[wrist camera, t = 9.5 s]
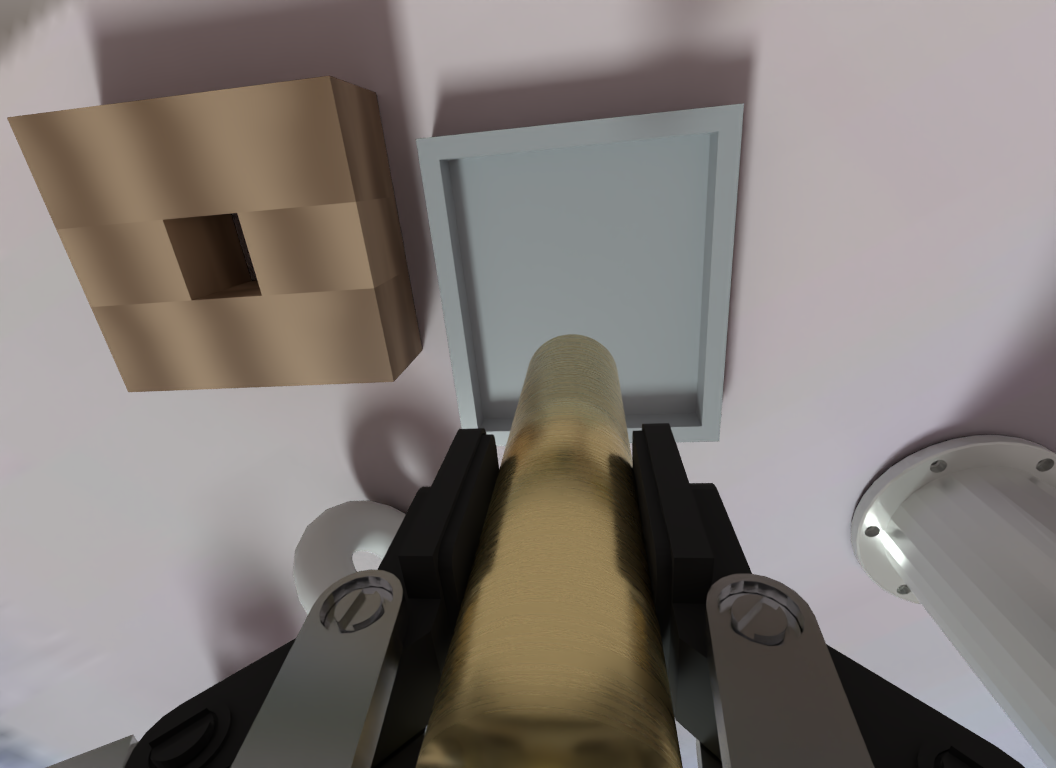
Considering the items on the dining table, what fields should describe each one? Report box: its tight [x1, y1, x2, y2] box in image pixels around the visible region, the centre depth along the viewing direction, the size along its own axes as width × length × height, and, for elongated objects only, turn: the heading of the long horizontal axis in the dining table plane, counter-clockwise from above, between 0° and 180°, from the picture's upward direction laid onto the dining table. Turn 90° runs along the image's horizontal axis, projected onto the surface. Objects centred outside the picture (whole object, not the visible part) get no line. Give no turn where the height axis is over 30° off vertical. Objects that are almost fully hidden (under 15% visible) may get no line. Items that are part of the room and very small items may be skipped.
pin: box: [416, 334, 683, 768], centre depth 11 cm, size 3×3×12 cm
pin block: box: [7, 76, 422, 392], centre depth 27 cm, size 16×14×5 cm
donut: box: [293, 501, 406, 614], centre depth 32 cm, size 10×4×10 cm, turn 52°
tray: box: [416, 103, 744, 446], centre depth 27 cm, size 15×17×2 cm
